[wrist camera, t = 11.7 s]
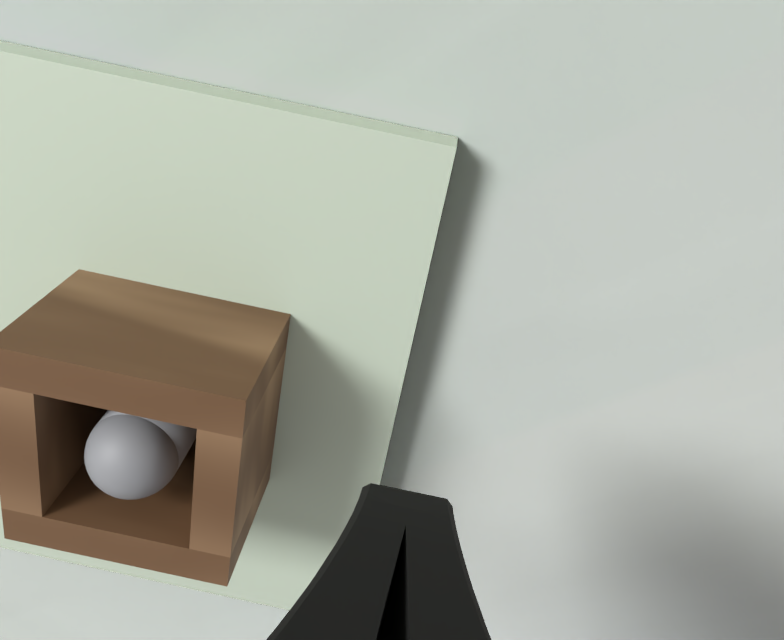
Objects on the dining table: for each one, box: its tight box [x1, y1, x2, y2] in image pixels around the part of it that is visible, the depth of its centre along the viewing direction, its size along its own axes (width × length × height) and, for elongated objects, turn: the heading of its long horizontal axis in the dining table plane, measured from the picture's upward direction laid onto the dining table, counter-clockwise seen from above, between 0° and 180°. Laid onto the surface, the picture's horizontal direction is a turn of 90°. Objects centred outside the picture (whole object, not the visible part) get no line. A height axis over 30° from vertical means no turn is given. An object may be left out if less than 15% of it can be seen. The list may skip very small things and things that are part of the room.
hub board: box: [0, 40, 458, 610], centre depth 18 cm, size 16×12×5 cm
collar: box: [0, 269, 291, 587], centre depth 18 cm, size 6×6×4 cm
